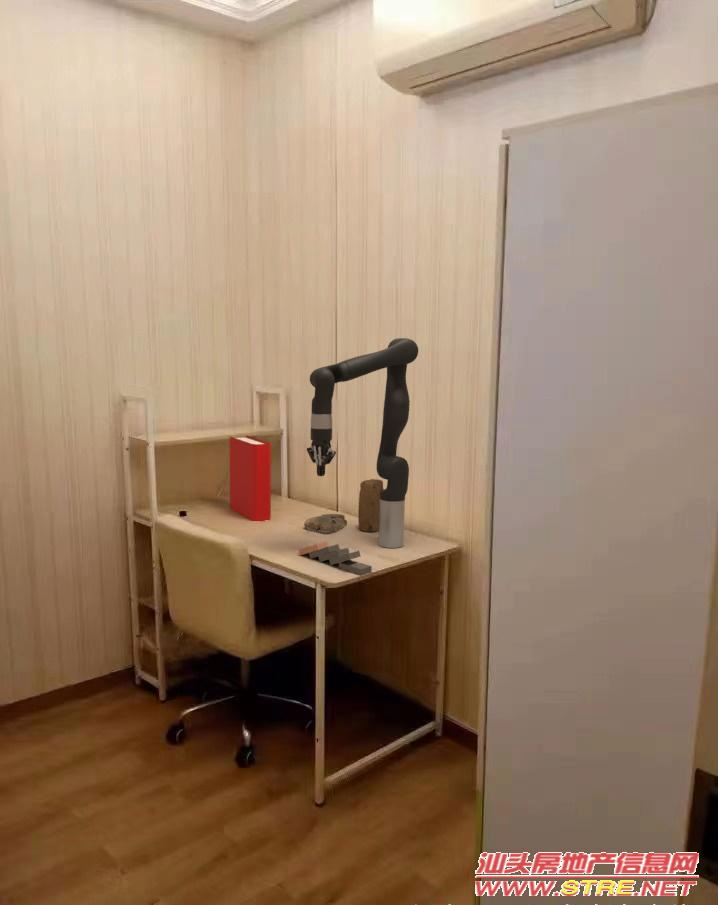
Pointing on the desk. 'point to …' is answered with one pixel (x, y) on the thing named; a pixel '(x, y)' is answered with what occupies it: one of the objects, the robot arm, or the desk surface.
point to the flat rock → (326, 523)
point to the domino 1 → (313, 548)
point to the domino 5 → (355, 567)
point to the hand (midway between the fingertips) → (320, 475)
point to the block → (369, 505)
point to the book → (250, 477)
